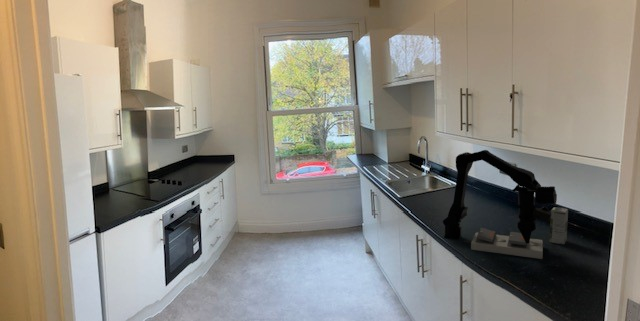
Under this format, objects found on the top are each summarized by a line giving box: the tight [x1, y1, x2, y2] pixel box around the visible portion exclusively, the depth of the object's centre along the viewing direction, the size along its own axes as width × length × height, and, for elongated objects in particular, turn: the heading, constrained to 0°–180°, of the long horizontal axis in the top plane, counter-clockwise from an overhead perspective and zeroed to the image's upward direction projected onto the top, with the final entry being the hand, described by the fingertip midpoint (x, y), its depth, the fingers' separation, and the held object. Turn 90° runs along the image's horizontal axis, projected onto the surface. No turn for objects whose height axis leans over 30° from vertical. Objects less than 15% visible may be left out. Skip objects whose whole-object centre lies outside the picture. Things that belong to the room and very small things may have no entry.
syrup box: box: [548, 206, 569, 245], centre depth 161 cm, size 6×6×14 cm
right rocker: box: [508, 231, 525, 245], centre depth 156 cm, size 6×11×1 cm, turn 150°
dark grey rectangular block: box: [477, 227, 496, 242], centre depth 161 cm, size 6×11×1 cm, turn 150°
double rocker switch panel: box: [463, 232, 544, 260], centre depth 159 cm, size 30×14×3 cm, turn 60°
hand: (527, 239), depth 154 cm, fingers open, 9 cm apart
